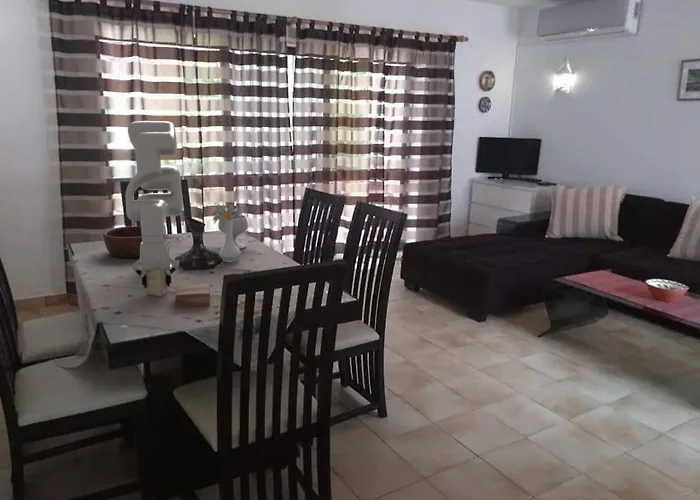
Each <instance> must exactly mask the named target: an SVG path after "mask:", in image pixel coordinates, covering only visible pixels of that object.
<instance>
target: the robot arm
mask: <svg viewBox="0 0 700 500" xmlns="http://www.w3.org/2000/svg"><path fill="white" fill-rule="evenodd" d="M174 125H175V124H173V123H172V122H171V121H156V120H155V121H153V120H151V121H150V120H143V121H142V120H141V121H133V122H129V124H128V125H127V135H128V137H129V141H130V143H131V144H132V147H133V149H134V151H135V158H136V173H135V175H134V176H133V177H132V178H131V180H130V181H129V182H128V184H127V187H126V190H125V208H126V216H127V218H128V219H129V221H132V222H140V226H141V233H142V242H141V244H140V258H138V260H137V261H136V262H134V263H133V264H132V265H131V267H130V268H131V269H132V270H133V271H134V272H135V273H136V274H137V275H138V276H140V278H141V285H142V286H143V288H144V289H147V288H146V287H147V286H146V271H147V270H154V266H155V264H159V263H162V267H163V269H164V270H165V271H166V273H167V287H170V284H172V274H174V273H175V271H176V270H177V269H178V267H179V266H180V263H179V262H178V261H177V260H175V259H174V258H172V257H171V253H170V248H169V247H170V245H169V242H168V239H170V235H169V234H167V228H166V225H165V219H166V218H167V217H178V216H181V215H182V213H183V209H184V208H183V207H184V205H183V203H184V202H183V191H182V188H183V187H182V178H181V177H182V176H181V172H180V170H179V169H178V167H176V166H173V165H162V161H161V160H162V159H161V156H174V155H175V154H176V153H177V150H178V149H177V147H178V142H177V134H176V127H175V126H174ZM139 187H140V188H141V189H143V190H146V191H163V190H165V191H169V192H164V193H163V192H162V193H161V192H157V193H156V192H155V193H153V192H152V193H144V194H141V195H139V196H138V197H137V199H134V198H135V197H134V196H135V192H136V190H138V188H139ZM138 266H140V267H139V268H140V269H139V268H138Z"/></svg>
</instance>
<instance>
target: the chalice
mask: <svg viewBox="0 0 700 500" xmlns="http://www.w3.org/2000/svg"><path fill="white" fill-rule="evenodd" d="M241 217H242V218H243V220H244V221H243V220H241V219H240V218H237V217H234V220H233V225H232V231H233V240H234V243H235V245H236V246H237V247H238V248H239V250H242V249H245V248H246V247H247V245H246V244H245V243H241V242H237V241H236V240H237V237H238V236H240V235H242V234H243V233H245V232H246V231H247V230H248V228H249V223H248V220H247V218H246V216H245V215H243V214H242V215H241ZM217 228H218V230H219V231H220V232H221V233H222V234H225V235H226V229H225V223H224V220H223V221H220V220H219V219H218V224H217ZM223 246H224V244H222V245H221V246H220V249H221V248H222V247H223Z"/></svg>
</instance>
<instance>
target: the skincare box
mask: <svg viewBox="0 0 700 500" xmlns="http://www.w3.org/2000/svg"><path fill="white" fill-rule="evenodd" d="M145 275H146V286H147V287H146V288H145V289H146V295H148V296H149V295H150V296H156V297H163V296H164V295H166V294H168V286H167V273H166V271H165V270H164V269H163V267H162V263H159V264H155V266H154V270H147V271H146V273H145Z"/></svg>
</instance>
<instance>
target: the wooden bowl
mask: <svg viewBox="0 0 700 500" xmlns="http://www.w3.org/2000/svg"><path fill="white" fill-rule="evenodd" d="M102 237H103V241H104V245H105V247H106V250H107V251H108V253H109V254H110V255H111V256H113V257H114V258H119V259H140V244H141V242H142V233H141V225H128V226H121V227H113V228H110V229H107V230H105V231H104V232H103V234H102Z"/></svg>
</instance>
